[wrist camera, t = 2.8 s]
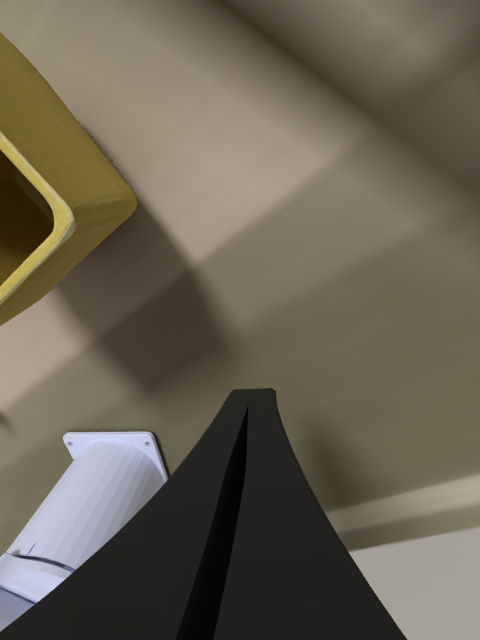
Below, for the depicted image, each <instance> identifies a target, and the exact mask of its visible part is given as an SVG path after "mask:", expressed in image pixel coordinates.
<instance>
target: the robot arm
mask: <svg viewBox="0 0 480 640" xmlns="http://www.w3.org/2000/svg"><path fill="white" fill-rule="evenodd" d="M63 440H64V442H65V444H66V446H67V448H68V450H69V452H70V454H71V456H72V458H73V459H74V461H73V462H72V463H71V465H70V466H69V468H68V469H67V470H66V472H65V473H64V474H63V476H62V477H61V478H60V480H59V481H58V482H57V484H56V485H55V487H54V488H53V489H52V491H51V492H50V493H49V495H48V496H47V497H46V499H45V500H44V501H43V503H42V504H41V506H40V507H39V508H38V510H37V511H36V512H35V514H34V515H33V516H32V518H31V519H30V520H29V522H28V523H27V525H26V526H25V527H24V529H23V530H22V531H21V533H20V534H19V535H18V537H17V538H16V539H15V541H14V542H13V543H12V545H11V546H10V548H9V549H8V550H7V552H6V553H4V554H3V555H2V556H1V558H0V640H407V639H406V637H405V636H404V635H403V633H402V632H401V630H400V629H399V628H398V626H397V625H396V623H395V622H394V620H393V619H392V617H391V616H390V615H389V613H388V611H387V610H386V609H385V607H384V606H383V604H382V603H381V601H380V600H379V599H378V597H377V596H376V594H375V593H374V591H373V590H372V588H371V587H370V585H369V584H368V582H367V581H366V579H365V577H364V576H363V574H362V573H361V571H360V570H359V568H358V567H357V565H356V563H355V562H354V560H353V559H352V557H351V556H350V554H349V552H348V551H347V549H346V548H345V546H344V545H343V543H342V541H341V540H340V538H339V537H338V535H337V533H336V532H335V530H334V528H333V527H332V525H331V523H330V522H329V520H328V518H327V516H326V515H325V513H324V511H323V510H322V508H321V506H320V504H319V502H318V500H317V499H316V497H315V495H314V493H313V491H312V489H311V487H310V486H309V484H308V482H307V480H306V478H305V476H304V474H303V472H302V469H301V467H300V465H299V463H298V461H297V459H296V457H295V454H294V452H293V450H292V447H291V445H290V442H289V440H288V437H287V435H286V432H285V430H284V427H283V424H282V421H281V418H280V414H279V411H278V407H277V399H276V391H275V390H273V389H272V388H266V389H235V390H232V392H231V393H230V394H229V396H228V398H227V399H226V401H225V402H224V404H223V406H222V407H221V409H220V410H219V412H218V414H217V415H216V417H215V418H214V420H213V421H212V423H211V424H210V426H209V427H208V428H207V430H206V431H205V433H204V434H203V435H202V437H201V438H200V440H199V441H198V442H197V444H196V445H195V446H194V448H193V449H192V450H191V452H190V453H189V454H188V455H187V457H186V458H185V459H184V460H183V462H182V463H181V464H180V466H179V467H178V468H177V469H176V471H175V472H174V473H173V474H172V475H171V476H170V478H169V479H168V476H167V473H166V470H165V467H164V464H163V461H162V458H161V455H160V452H159V449H158V446H157V443H156V441H155V438H154V435H153V434H152V433H150V432H68V433H66V434H65V435H64V436H63Z"/></svg>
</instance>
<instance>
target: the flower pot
mask: <svg viewBox="0 0 480 640" xmlns="http://www.w3.org/2000/svg"><path fill="white" fill-rule="evenodd" d="M137 204H138V202H137V198H136V196H135V194H134V192H133V191H132V189H131V188H130V187H129V186H128V184H127V183H126V182H125V181H124V179H123V178H122V177H121V176H120V174H119V173H118V172H117V171H116V169H115V168H114V167H113V165H112V164H111V163H110V162H109V160H108V159H107V158H106V157H105V155H104V154H103V153H102V152H101V150H100V149H99V148H98V147H97V145H96V144H95V143H94V141H93V140H92V139H91V138H90V136H89V135H88V134H87V132H86V131H85V130H84V129H83V127H82V126H81V125H80V124H79V122H78V121H77V120H76V118H75V117H74V116H73V115H72V113H71V112H70V111H69V109H68V108H67V107H66V105H65V104H64V103H63V102H62V100H61V99H60V98H59V96H58V95H57V94H56V93H55V91H54V90H53V89H52V87H51V86H50V85H49V83H48V82H47V81H46V80H45V79H44V77H43V76H42V75H41V74H40V73H39V72H38V70H37V69H36V68H35V67H34V66H33V65H32V64H31V63H30V61H29V60H28V59H27V58H26V57H25V56H24V55H23V54H22V53H21V52H20V51H19V50H18V49H17V48H16V47H15V46H14V45H13V44H12V43H11V42H10V41H9V40H8V39H7V38H6V37H5V36H4V35H3V34H1V33H0V326H1V325H2V324H4V323H5V322H7V321H9V320H10V319H12V318H13V317H15V316H16V315H18V314H19V313H21V312H22V311H24V310H26V309H27V308H29V307H30V306H32V305H33V304H34V303H36V302H37V301H39V300H40V299H41V298H43V297H44V296H45V295H46V294H47V293H48V292H49V291H50V290H52V289H53V288H54V287H55V286H56V285H57V284H58V283H59V282H60V281H61V280H62V279H63V278H64V277H65V276H66V275H67V274H68V273H69V272H70V271H71V270H72V269H73V268H74V267H75V266H76V265H77V264H79V263H80V262H81V261H82V260H83V259H84V258H85V257H86V256H87V255H88V254H89V253H90V252H91V251H92V250H93V249H94V248H96V247H97V246H98V245H99V244H100V243H101V242H102V241H103V240H104V239H105V238H106V237H107V236H109V235H110V234H111V233H112V232H113V231H114V230H115V229H116V228H118V227H119V226H120V225H121V224H122V223H123V222H124V221H125V220H127V219H128V218H129V217H130V216H131V215H132V214H133V213H134V212H135V210H136V208H137Z"/></svg>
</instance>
